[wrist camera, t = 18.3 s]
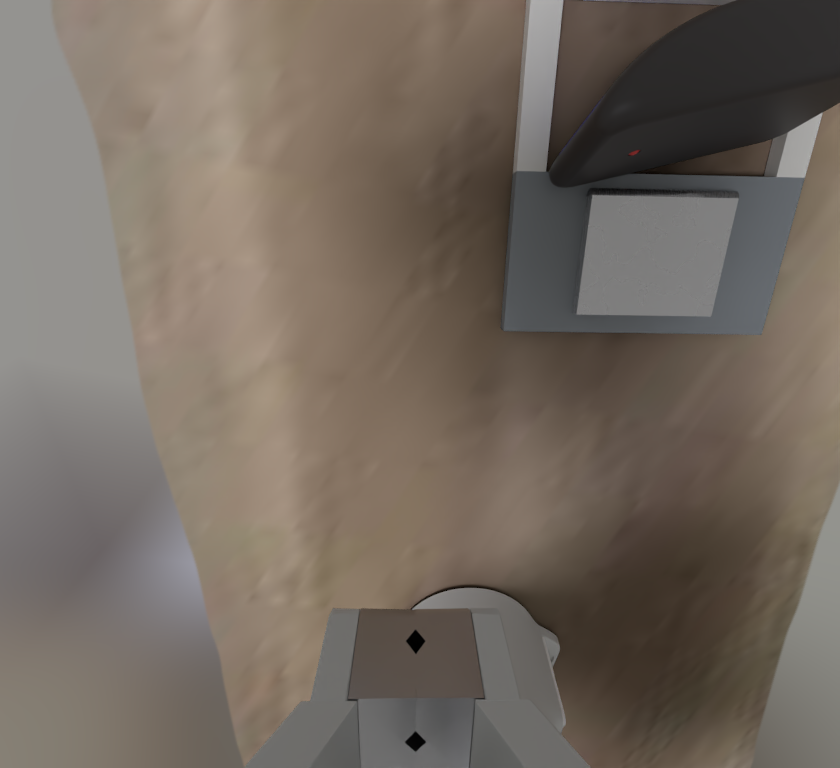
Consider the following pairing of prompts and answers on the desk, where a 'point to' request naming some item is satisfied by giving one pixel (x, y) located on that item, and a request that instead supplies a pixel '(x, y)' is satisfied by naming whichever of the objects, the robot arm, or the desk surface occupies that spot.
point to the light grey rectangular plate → (652, 251)
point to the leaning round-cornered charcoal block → (711, 89)
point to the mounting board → (564, 207)
